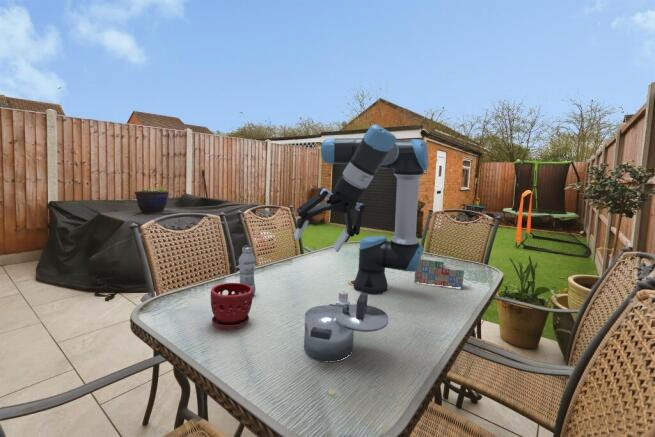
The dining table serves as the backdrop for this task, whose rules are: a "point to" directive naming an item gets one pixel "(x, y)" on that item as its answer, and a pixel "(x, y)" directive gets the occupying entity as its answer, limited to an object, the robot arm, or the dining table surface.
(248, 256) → the plastic bottle
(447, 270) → the stack of blocks
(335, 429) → the dining table surface
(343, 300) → the salt shaker
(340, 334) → the pot
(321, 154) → the robot arm
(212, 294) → the plant pot
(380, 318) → the lid
